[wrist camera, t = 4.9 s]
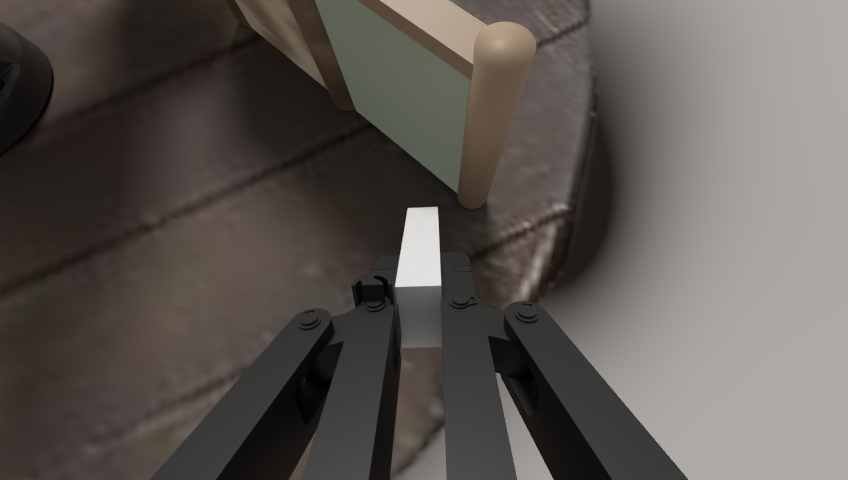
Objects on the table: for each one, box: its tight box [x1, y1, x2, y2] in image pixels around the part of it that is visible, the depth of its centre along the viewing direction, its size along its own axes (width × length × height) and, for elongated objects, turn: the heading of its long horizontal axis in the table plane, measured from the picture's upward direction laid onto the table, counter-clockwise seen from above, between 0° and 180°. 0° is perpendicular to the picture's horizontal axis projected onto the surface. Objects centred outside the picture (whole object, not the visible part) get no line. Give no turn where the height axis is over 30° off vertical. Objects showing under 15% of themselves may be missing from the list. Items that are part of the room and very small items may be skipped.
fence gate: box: [315, 0, 536, 209], centre depth 19 cm, size 13×2×13 cm, turn 47°
